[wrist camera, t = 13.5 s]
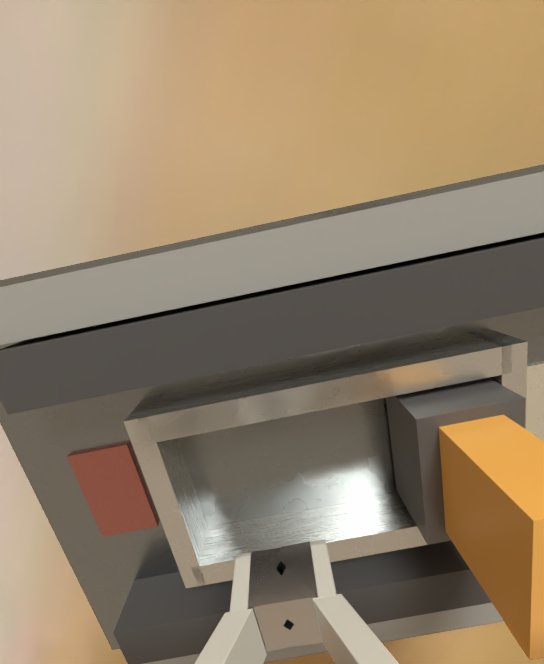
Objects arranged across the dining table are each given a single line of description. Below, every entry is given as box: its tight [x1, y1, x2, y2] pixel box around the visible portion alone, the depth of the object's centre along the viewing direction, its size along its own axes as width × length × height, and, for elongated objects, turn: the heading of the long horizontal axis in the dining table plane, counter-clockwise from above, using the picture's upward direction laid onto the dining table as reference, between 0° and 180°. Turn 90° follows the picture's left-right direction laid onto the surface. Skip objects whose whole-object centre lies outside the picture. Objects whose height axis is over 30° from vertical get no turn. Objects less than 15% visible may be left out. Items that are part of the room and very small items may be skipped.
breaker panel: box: [0, 165, 544, 650], centre depth 15 cm, size 30×22×4 cm
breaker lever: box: [386, 378, 544, 660], centre depth 11 cm, size 4×6×7 cm, turn 12°
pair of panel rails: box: [0, 171, 544, 664], centre depth 14 cm, size 24×21×2 cm
